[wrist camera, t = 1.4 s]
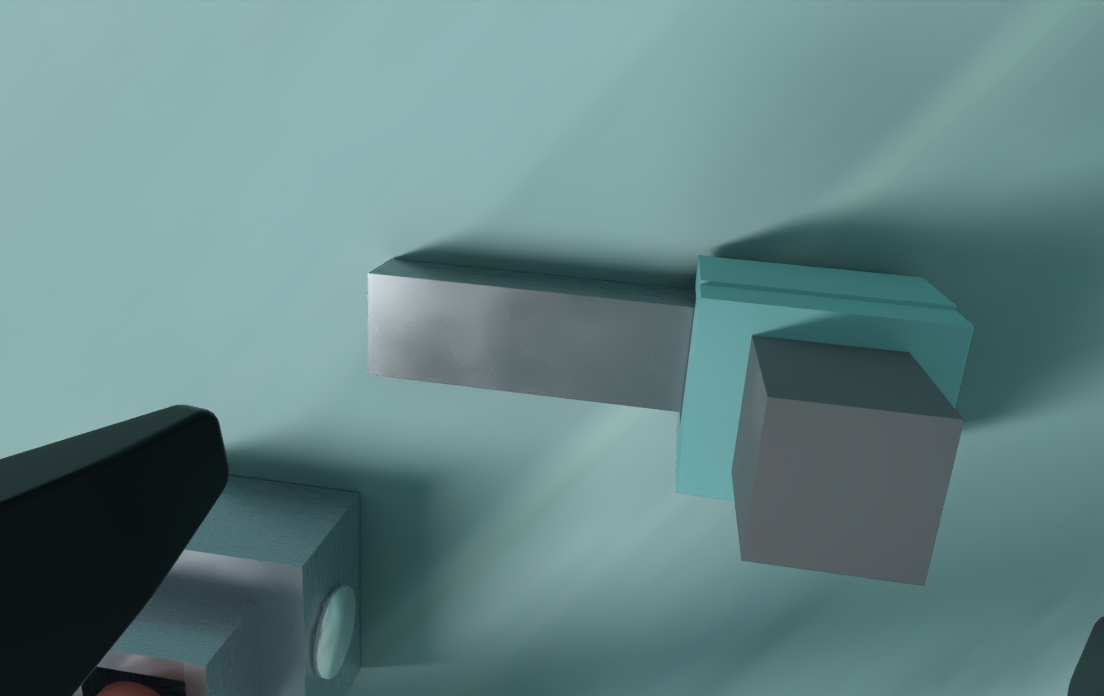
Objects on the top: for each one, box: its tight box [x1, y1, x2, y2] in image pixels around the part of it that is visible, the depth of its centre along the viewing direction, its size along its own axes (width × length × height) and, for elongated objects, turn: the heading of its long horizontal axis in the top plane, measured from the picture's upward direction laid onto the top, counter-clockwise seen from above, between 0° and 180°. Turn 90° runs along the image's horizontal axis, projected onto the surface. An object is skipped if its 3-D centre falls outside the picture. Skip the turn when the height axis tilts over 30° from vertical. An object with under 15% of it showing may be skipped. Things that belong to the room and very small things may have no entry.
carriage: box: [676, 256, 975, 586], centre depth 20 cm, size 6×5×8 cm
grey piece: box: [73, 475, 360, 696], centre depth 26 cm, size 7×7×7 cm
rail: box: [368, 259, 696, 412], centre depth 24 cm, size 15×3×2 cm, turn 86°
